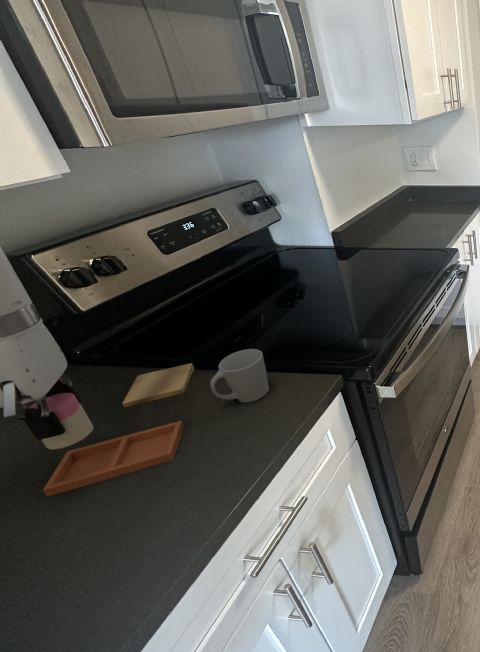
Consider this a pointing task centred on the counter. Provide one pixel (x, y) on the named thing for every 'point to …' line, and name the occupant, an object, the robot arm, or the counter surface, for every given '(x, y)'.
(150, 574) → the counter surface
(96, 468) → the divided tray
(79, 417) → the pink lidded jar
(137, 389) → the board
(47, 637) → the counter surface
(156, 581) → the counter surface
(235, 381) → the cup
